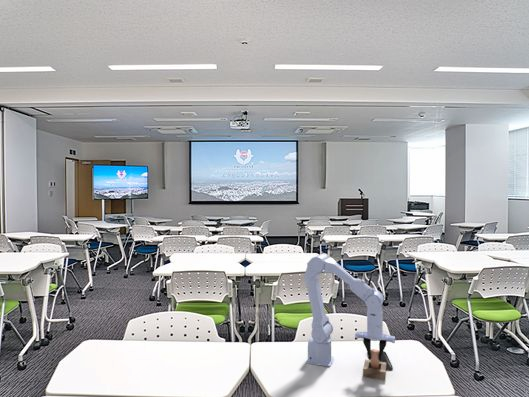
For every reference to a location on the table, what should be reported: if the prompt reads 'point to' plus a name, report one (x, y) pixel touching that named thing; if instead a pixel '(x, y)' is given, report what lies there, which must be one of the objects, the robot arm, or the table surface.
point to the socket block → (374, 370)
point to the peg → (374, 358)
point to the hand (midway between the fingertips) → (374, 358)
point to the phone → (385, 359)
